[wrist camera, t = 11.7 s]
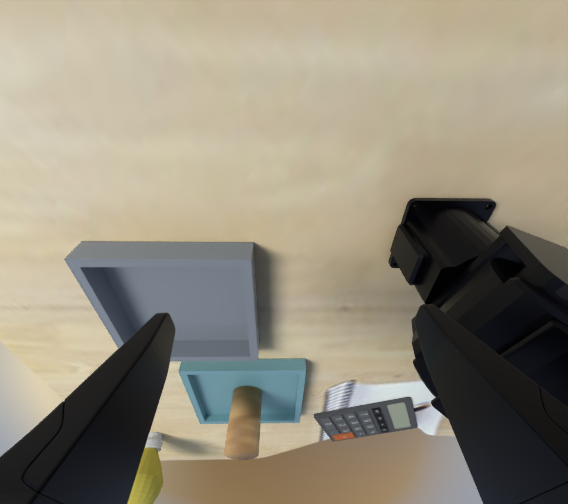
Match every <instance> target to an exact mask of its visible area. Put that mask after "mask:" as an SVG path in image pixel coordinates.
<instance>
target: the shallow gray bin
mask: <svg viewBox="0 0 568 504" xmlns="http://www.w3.org/2000/svg"><path fill="white" fill-rule="evenodd" d="M64 260H65V261H66V263H67V264H68V266H69V268H70V269H71V271H72V273H73V274H74V276H75V278H76V279H77V281H78V283H79V284H80V286H81V288H82V289H83V291H84V292H85V294H86V296H87V297H88V299H89V301H90V302H91V304H92V306H93V307H94V309H95V311H96V312H97V314H98V315H99V317H100V319H101V320H102V322H103V324H104V325H105V327H106V329H107V330H108V332H109V334H110V335H111V337H112V338H113V340H114V342H115V343H116V345H117V347H118V348H120V347H121V346H122V345H123V344H124V343H125V342H126V341H127V340H128V339H129V338H130V337H131V336H132V335H133V334H135V333H136V332H137V331H138V330H139V329H140V328H141V327H142V326H143V325H144V324H145V323H146V322H147V321H148V320H149V319H150V318H151V317H152V316H154V315H155V314H156V313H163V312H167V313H169V314H170V316H171V318H172V320H173V323H174V325H175V330H176V331H175V337H174V342H173V348H172V353H171V358H170V361H258V357H259V327H258V310H257V294H256V278H255V261H254V245H253V242H101V241H82V242H81V243H80V244H79V245H78V246H77V247H76V248H75V249H74V250H73V251H72V252H71V253H70V254H69V255H68V256H67V257H66V258H65V259H64Z"/></svg>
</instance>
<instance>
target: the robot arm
mask: <svg viewBox="0 0 568 504" xmlns="http://www.w3.org/2000/svg"><path fill="white" fill-rule="evenodd" d="M414 204H417V205H416V206H415V207H413V205H414ZM487 205H488V206H487ZM486 206H487V207H486ZM495 206H496V203H495V202H494V201H493V200H491V199H465V198H413V199H411V200H410V201H409V202H408V204H407V206H406V209H405V212H404V215H403V218H402V222H401V224H400V225H399V226H398V228H397V231H396V234H395V237H394V240H393V243H392V246H391V250H390V251H391V255H390V258H389V264H390V266H391V267H392V268H400V270H401V271H402V273H403V275H404V277H405V279H406V281H407V282H408V283H409V284H410V285H415V287H416V289H417V291H418V292H419V294H420V296H421V298H422V300H423V301H424V303H425V304H423V305H421V306H420V307H419V310H418V312H417V315H416V316H415V317H414V318H413V319H412V329H413V339H412V346H413V350H414V354H415V359H414V360H413V364H414V367H415V369H416V371H417V373H418V374H419V376H420V378H421V379H422V381H423V382H424V384H425V385H426V387H427V388H428V389H429V390H430V392H431V393H432V394H433V395H434V396H435V397H436V398H434V399H433V400H432V401H431V404H432V406H433V407H434V408H435V409H437V410H438V411H439V412H440V413H442V414H443V415H444V416H445V417H447V418H448V419H449V421H450V424H451V426H452V429H453V431H454V434H455V436H456V438H457V441H458V443H459V446H460V448H461V450H462V453H463V455H464V458H465V460H466V463H467V465H468V467H469V470H470V472H471V475H472V477H473V480H474V482H475V484H476V487H477V489H478V492H479V494H480V497H481V499H482V501H483V504H568V249H567V248H565V247H562V246H560V245H557V244H555V243H552V242H549V241H547V240H544V239H541V238H539V237H536V236H534V235H531V234H528V233H526V232H523V231H521V230H518V229H515V228H513V227H510V226H506V227H505V228H504V229H503V230H502V231H501V232H498V231H497V230H496V229H495V228H494V227H492V226H491V225H490V224H489V223H488V222H487V221H488V220H489V218H490V216H491V214H492V212H493V210H494V209H495ZM394 262H395V263H394ZM175 331H176V330H175V325H174V323H173V320H172V318H171V316H170V314H169V313H167V312H163V313H156V314H155V315H154V316H152V317H151V318H150V319H149V320H148V321H147V322H146V323H145V324H144V325H143V326H142V327H141V328H140V329H139V330H138V331H137V332H136V333H135V334H133V335H132V336H131V337H130V338H129V339H128V340H127V341H126V342H125V343H124V344H123V345H122V346H121V347H120V348H119V349H118V350H117V351H116V352H114V353H113V354H112V355H111V356H110V357H109V358H108V359H107V360H106V361H105V362H104V363H103V364H102V365H101V366H100V367H99V368H98V369H96V370H95V371H94V372H93V373H92V374H91V375H90V376H89V377H88V378H87V379H86V380H85V381H84V382H83V383H82V384H81V385H80V386H79V387H77V388H76V389H75V390H74V391H73V392H72V393H71V394H70V395H69V396H68V397H67V398H66V399H65V401H64V402H62V403H60V404H59V405H58V406H57V407H56V408H55V409H54V410H53V411H52V412H51V413H50V414H49V415H48V416H47V417H46V418H44V419H43V420H42V421H41V422H40V423H39V424H38V425H37V426H36V427H35V428H33V429H32V430H31V431H30V432H29V433H28V434H27V435H25V436H24V437H23V438H22V439H21V440H20V441H19V442H17V443H16V444H15V445H14V446H13V447H12V448H10V449H9V450H8V451H7V452H6V453H4V454H3V455H2V456H1V457H0V504H128V500H129V497H130V494H131V491H132V487H133V484H134V481H135V478H136V474H137V471H138V468H139V465H140V461H141V458H142V455H143V452H144V448H145V445H146V442H147V439H148V435H149V432H150V429H151V426H152V422H153V419H154V416H155V413H156V409H157V406H158V403H159V400H160V397H161V393H162V390H163V387H164V384H165V380H166V377H167V373H168V368H169V363H170V358H171V353H172V348H173V342H174V337H175Z"/></svg>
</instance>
